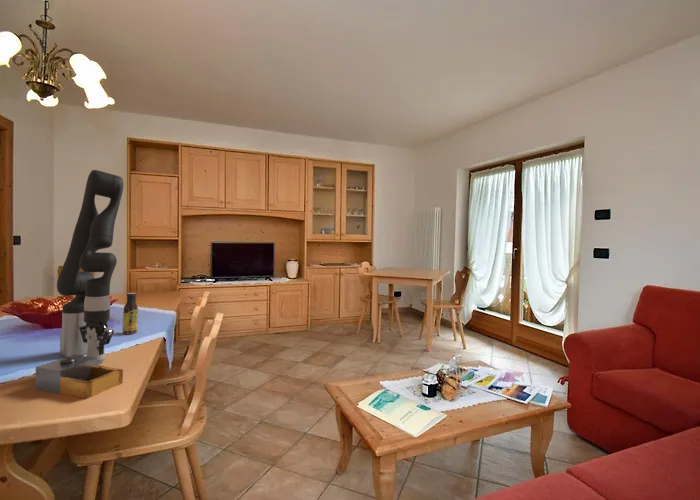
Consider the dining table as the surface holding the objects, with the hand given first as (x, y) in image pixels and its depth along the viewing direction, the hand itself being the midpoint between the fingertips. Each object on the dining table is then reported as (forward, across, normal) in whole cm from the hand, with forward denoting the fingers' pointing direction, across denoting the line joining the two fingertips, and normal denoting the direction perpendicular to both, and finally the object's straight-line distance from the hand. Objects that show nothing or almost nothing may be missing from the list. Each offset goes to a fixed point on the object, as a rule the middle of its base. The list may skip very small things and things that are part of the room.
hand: (95, 355), depth 123 cm
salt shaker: (+3, 0, 0) cm, 3 cm away
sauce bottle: (+6, -28, +40) cm, 49 cm away
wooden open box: (+5, +7, -11) cm, 14 cm away
